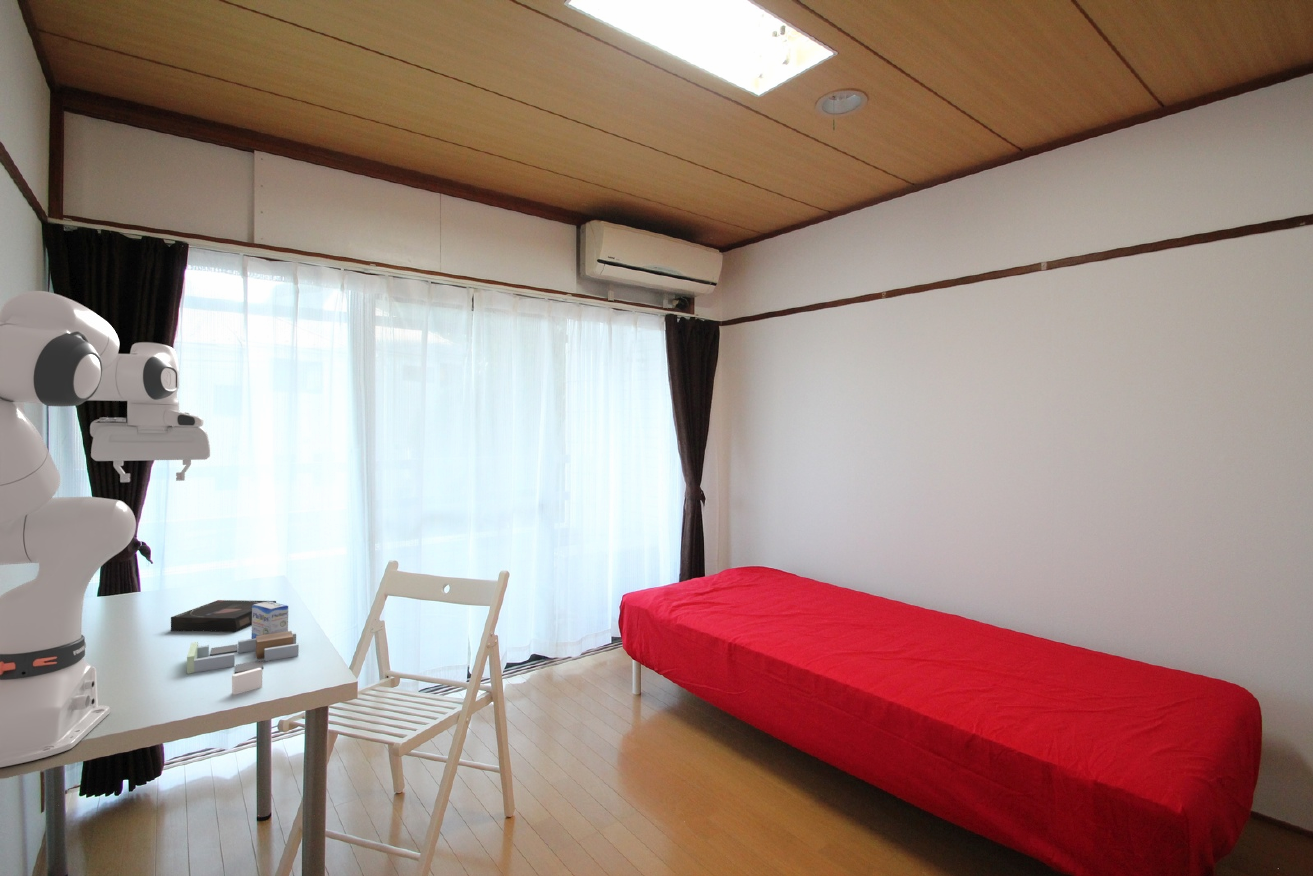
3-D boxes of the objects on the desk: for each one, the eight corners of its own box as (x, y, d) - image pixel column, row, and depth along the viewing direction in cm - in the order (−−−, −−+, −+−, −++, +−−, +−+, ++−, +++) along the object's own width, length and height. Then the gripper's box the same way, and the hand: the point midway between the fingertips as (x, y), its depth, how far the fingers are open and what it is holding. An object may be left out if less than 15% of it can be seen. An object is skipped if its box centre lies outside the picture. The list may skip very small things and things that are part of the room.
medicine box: (250, 640, 151) (251, 604, 151) (269, 635, 155) (269, 600, 155) (270, 645, 148) (270, 609, 147) (288, 640, 151) (289, 604, 151)
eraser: (231, 693, 120) (232, 674, 120) (259, 685, 124) (260, 667, 124) (234, 695, 119) (234, 676, 119) (262, 687, 123) (262, 669, 123)
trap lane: (299, 662, 136) (299, 646, 136) (184, 681, 125) (184, 664, 125) (294, 637, 154) (294, 623, 154) (193, 652, 143) (193, 636, 143)
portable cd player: (237, 634, 157) (237, 618, 157) (170, 633, 158) (170, 617, 158) (278, 615, 174) (278, 601, 174) (217, 614, 174) (217, 600, 174)
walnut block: (293, 654, 142) (293, 636, 142) (256, 660, 138) (257, 642, 138) (291, 647, 147) (291, 630, 147) (255, 653, 143) (256, 636, 143)
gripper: (87, 416, 128) (86, 484, 128) (209, 418, 139) (209, 480, 139) (93, 417, 133) (92, 482, 133) (210, 419, 144) (210, 478, 144)
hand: (153, 481), depth 136 cm, fingers open, 8 cm apart
